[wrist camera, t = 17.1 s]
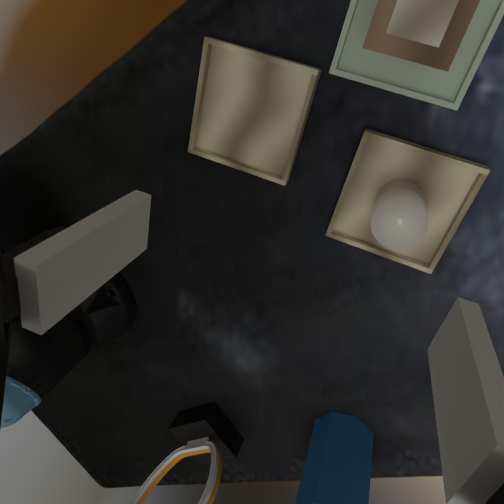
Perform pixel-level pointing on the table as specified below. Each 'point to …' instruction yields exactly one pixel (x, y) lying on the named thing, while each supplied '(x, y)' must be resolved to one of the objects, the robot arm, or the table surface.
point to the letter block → (420, 29)
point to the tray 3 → (419, 172)
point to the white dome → (399, 215)
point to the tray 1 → (251, 109)
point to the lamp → (198, 447)
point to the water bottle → (337, 462)
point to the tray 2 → (410, 73)
